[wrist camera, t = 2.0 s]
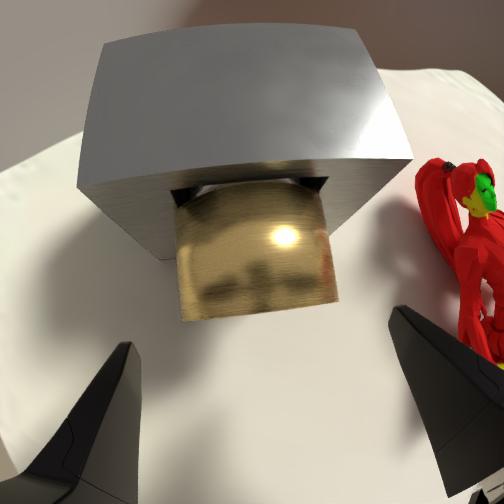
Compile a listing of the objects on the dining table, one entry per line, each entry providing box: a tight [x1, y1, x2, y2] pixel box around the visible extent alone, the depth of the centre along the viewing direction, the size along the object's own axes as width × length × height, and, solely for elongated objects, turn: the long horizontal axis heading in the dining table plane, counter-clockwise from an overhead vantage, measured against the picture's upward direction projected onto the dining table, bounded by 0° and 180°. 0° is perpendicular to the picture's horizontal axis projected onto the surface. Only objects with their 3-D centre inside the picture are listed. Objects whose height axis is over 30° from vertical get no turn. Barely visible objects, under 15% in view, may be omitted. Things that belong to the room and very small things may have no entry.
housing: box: [77, 23, 414, 260], centre depth 15 cm, size 7×11×12 cm, turn 97°
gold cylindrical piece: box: [174, 178, 339, 322], centre depth 13 cm, size 8×6×6 cm
